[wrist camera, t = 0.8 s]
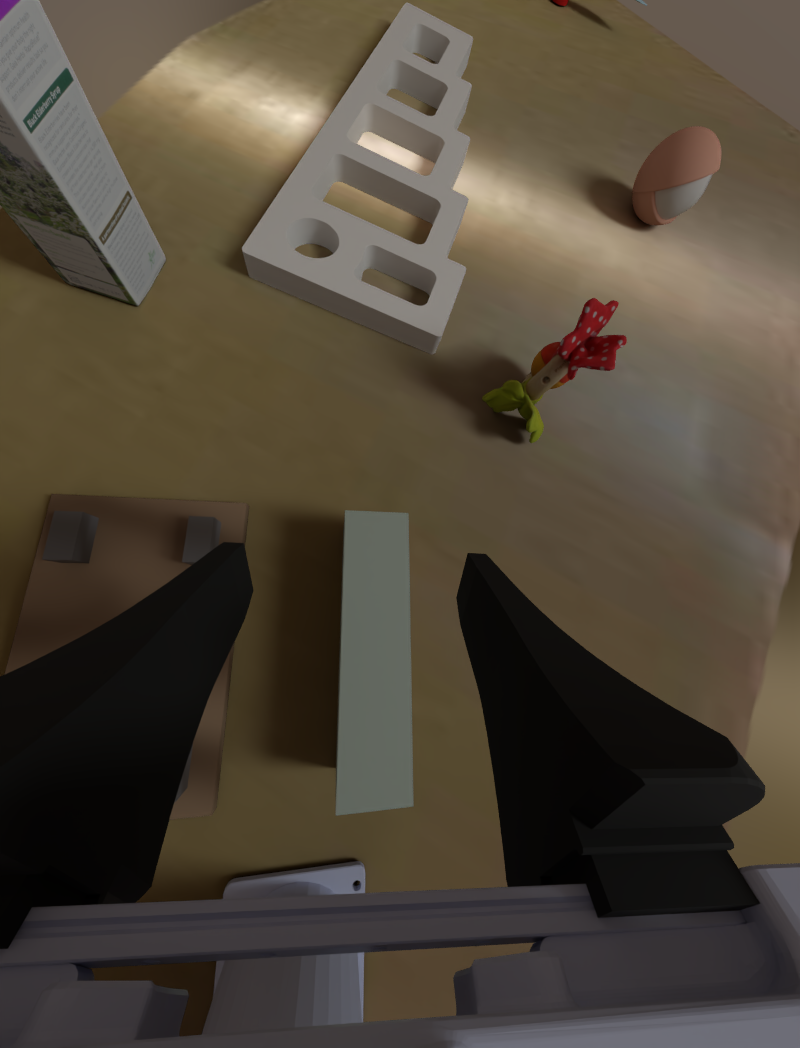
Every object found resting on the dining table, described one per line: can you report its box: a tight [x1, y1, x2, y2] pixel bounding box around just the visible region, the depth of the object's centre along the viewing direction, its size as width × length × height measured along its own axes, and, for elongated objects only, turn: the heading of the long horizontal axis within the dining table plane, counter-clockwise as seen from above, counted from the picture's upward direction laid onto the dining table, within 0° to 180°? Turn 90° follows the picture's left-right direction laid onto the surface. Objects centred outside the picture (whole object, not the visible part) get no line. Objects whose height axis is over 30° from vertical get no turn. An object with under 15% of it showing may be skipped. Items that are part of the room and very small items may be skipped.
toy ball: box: [632, 126, 721, 225], centre depth 39 cm, size 8×8×8 cm
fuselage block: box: [336, 510, 413, 815], centre depth 22 cm, size 16×4×6 cm, turn 0°
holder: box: [242, 3, 473, 354], centre depth 36 cm, size 45×18×3 cm, turn 161°
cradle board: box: [4, 494, 249, 820], centre depth 20 cm, size 19×12×2 cm, turn 0°
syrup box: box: [0, 0, 166, 306], centre depth 21 cm, size 6×6×14 cm
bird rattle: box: [482, 298, 626, 443], centre depth 27 cm, size 6×11×9 cm
